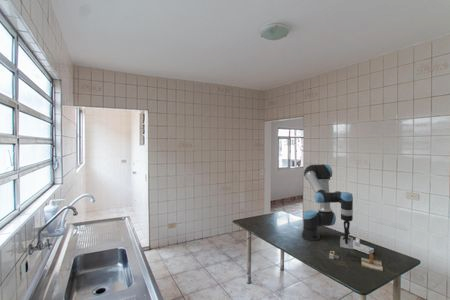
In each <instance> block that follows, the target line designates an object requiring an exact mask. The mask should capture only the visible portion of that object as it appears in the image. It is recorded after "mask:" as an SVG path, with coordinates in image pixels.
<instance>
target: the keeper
mask: <svg viewBox="0 0 450 300" xmlns="http://www.w3.org/2000/svg"><path fill="white" fill-rule="evenodd" d="M368 255H369V257H368V258H366V257H360V258H361V267H362V268H366V269H371V270H375V271H379V272H380V271H381V272H383V268H384V267H383V264H382V260H378V259H374V257H375V256H374V254H373V253H372V254H368Z"/></svg>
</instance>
